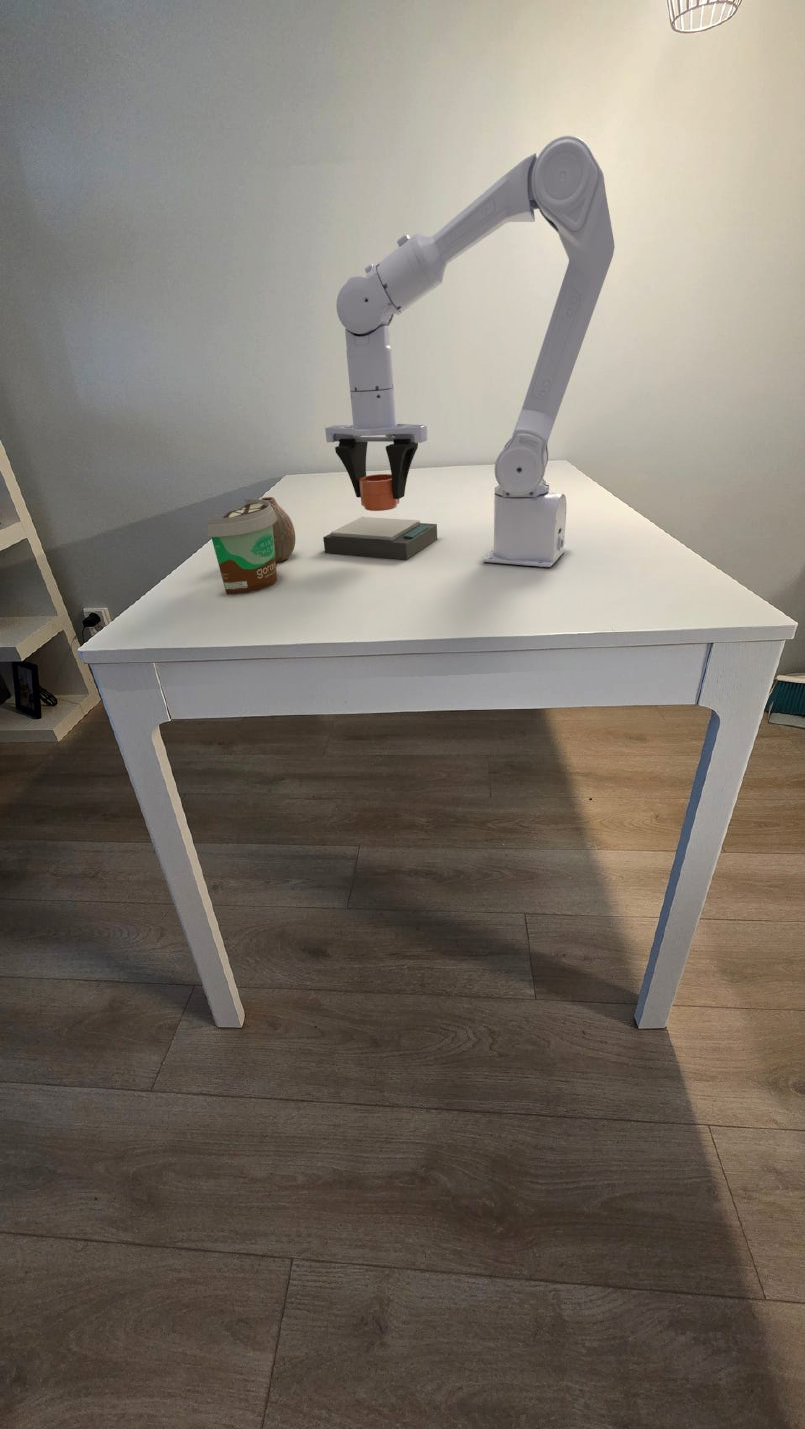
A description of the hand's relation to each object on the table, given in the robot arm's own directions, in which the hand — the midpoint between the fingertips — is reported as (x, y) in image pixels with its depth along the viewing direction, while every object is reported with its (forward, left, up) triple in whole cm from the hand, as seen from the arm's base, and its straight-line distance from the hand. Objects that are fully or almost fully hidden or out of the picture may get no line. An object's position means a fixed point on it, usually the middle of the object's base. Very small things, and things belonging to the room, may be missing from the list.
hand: (379, 496), depth 91 cm
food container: (+11, +16, -9) cm, 21 cm away
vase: (+16, +6, -9) cm, 19 cm away
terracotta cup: (0, 0, -1) cm, 1 cm away
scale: (+3, -4, -8) cm, 10 cm away
